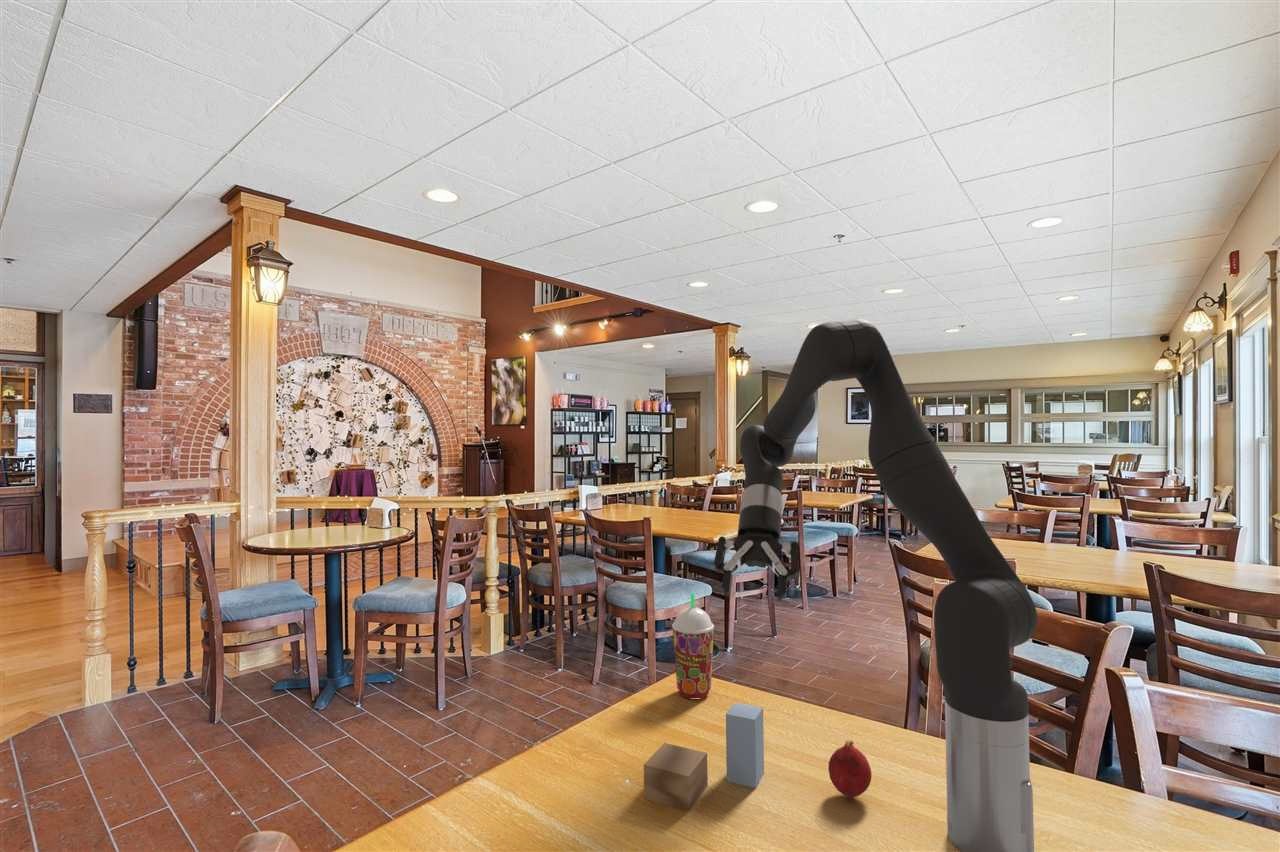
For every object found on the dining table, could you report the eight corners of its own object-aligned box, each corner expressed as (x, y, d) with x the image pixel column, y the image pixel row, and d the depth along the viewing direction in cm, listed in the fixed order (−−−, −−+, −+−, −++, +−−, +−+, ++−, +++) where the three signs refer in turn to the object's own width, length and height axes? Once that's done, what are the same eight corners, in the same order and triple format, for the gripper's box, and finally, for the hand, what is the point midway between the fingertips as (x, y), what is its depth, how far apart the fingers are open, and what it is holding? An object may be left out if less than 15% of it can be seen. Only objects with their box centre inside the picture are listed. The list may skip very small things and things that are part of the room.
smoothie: (668, 700, 121) (667, 597, 122) (678, 683, 129) (677, 587, 130) (710, 705, 119) (709, 600, 119) (718, 688, 127) (716, 590, 127)
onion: (875, 812, 85) (873, 753, 85) (831, 807, 86) (830, 749, 86) (868, 788, 90) (867, 733, 90) (827, 784, 91) (826, 729, 92)
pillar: (764, 773, 95) (763, 707, 95) (756, 788, 91) (755, 719, 91) (735, 766, 97) (734, 702, 97) (726, 781, 93) (725, 714, 93)
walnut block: (707, 786, 92) (707, 752, 92) (689, 812, 85) (688, 776, 85) (664, 775, 95) (664, 742, 95) (644, 799, 88) (643, 764, 89)
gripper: (719, 501, 112) (708, 582, 102) (800, 505, 109) (797, 590, 98) (723, 523, 118) (713, 602, 108) (800, 528, 114) (797, 611, 104)
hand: (753, 596), depth 103 cm, fingers open, 8 cm apart
